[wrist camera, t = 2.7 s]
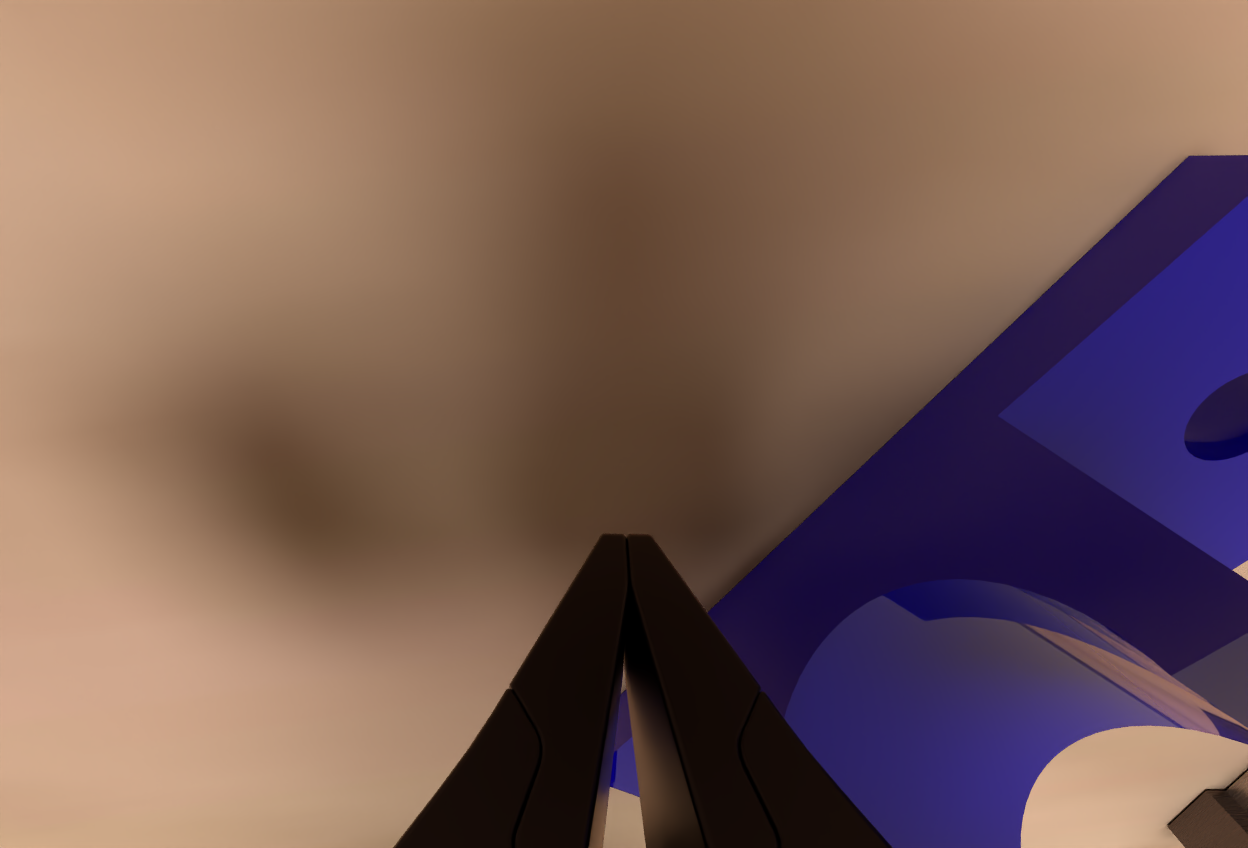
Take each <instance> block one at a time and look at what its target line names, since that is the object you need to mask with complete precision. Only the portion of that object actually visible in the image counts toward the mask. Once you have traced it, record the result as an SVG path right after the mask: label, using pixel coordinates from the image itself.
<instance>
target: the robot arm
mask: <svg viewBox="0 0 1248 848" xmlns="http://www.w3.org/2000/svg"><path fill="white" fill-rule="evenodd" d="M623 664H624V669H625V680H626V689H627V697H628V705H629V713H630V721H631V729H632V737H633V746H634V754H635V762H636V770H637V778H638V786H639V794H640V802H641V810H642V818H643V827H644V835H645V843H646V848H893V847H892V846H891V845H890V844H889V843H888V842H887V841H886V839H885V838H884V837H883V836H882V835H881V834H880V833H879V831H878V830H877V829H876V828H875V827H874V826H873V825H872V823H871V822H870V821H869V820H868V819H867V818H866V817H865V816H864V814H863V813H862V812H861V811H860V810H859V809H858V808H857V806H856V805H855V804H854V803H853V802H852V801H851V800H850V798H849V797H848V796H847V795H846V794H845V793H844V792H843V791H842V789H841V788H840V787H839V786H838V785H837V784H836V782H835V781H834V780H833V779H832V778H831V776H830V775H829V774H828V773H827V772H826V771H825V769H824V768H823V767H822V766H821V765H820V763H819V762H818V761H817V760H816V759H815V758H814V756H813V755H812V754H811V753H810V752H809V750H808V749H807V748H806V747H805V745H804V744H803V743H802V741H801V740H800V739H799V737H798V736H797V735H796V734H795V732H794V731H793V730H792V728H791V727H790V726H789V724H788V723H787V722H786V720H785V719H784V718H783V717H782V715H781V714H780V713H779V711H778V710H777V708H776V707H775V706H774V704H773V703H772V701H771V700H770V699H769V697H768V696H767V694H766V693H765V692H761V687H760V685H759V684H758V682H757V681H756V680H755V678H754V677H753V675H752V674H751V673H750V671H749V670H748V669H747V667H746V666H745V664H744V663H743V662H742V660H741V659H740V657H739V656H738V655H737V653H736V652H735V651H734V649H733V648H732V646H731V645H730V644H729V642H728V641H727V640H726V638H725V637H724V635H723V634H722V633H721V631H720V630H719V628H718V627H717V626H716V624H715V623H714V622H713V620H712V619H711V617H710V616H709V615H708V613H707V612H706V611H705V609H704V608H703V606H702V605H701V604H700V602H699V601H698V599H697V598H696V597H695V595H694V594H693V593H692V591H691V590H690V588H689V587H688V586H687V584H686V583H685V582H684V580H683V579H682V577H681V576H680V575H679V573H678V572H677V570H676V569H675V568H674V566H673V565H672V564H671V562H670V561H669V559H668V558H667V557H666V555H665V554H664V553H663V551H662V550H661V548H660V547H659V546H658V544H657V543H656V542H655V540H654V539H653V537H652V536H650V535H648V534H629V535H628V536H627V538H626V536H625V535H624V534H610V533H605V534H602V535H601V536H600V538H599V539H598V541H597V543H596V544H595V546H594V547H593V549H592V551H591V552H590V554H589V556H588V557H587V559H586V561H585V562H584V564H583V565H582V567H581V569H580V570H579V572H578V574H577V575H576V577H575V579H574V580H573V582H572V583H571V585H570V587H569V588H568V590H567V592H566V593H565V595H564V596H563V598H562V600H561V601H560V603H559V605H558V606H557V608H556V610H555V611H554V613H553V614H552V616H551V618H550V619H549V621H548V623H547V624H546V626H545V628H544V629H543V631H542V632H541V634H540V636H539V637H538V639H537V641H536V642H535V644H534V646H533V647H532V649H531V650H530V652H529V654H528V655H527V657H526V659H525V660H524V662H523V664H522V665H521V667H520V668H519V670H518V672H517V673H516V675H515V677H514V678H513V680H512V681H511V683H510V686H509V688H510V689H507V690H506V691H505V692H504V694H503V696H502V697H501V699H500V701H499V702H498V704H497V706H496V707H495V709H494V710H493V712H492V714H491V715H490V717H489V718H488V720H487V721H486V723H485V724H484V726H483V727H482V729H481V730H480V732H479V733H478V735H477V737H476V738H475V740H474V741H473V743H472V744H471V746H470V747H469V749H468V750H467V751H466V753H465V754H464V755H463V757H462V758H461V759H460V761H459V762H458V764H457V765H456V766H455V768H454V769H453V770H452V772H451V773H450V774H449V776H448V777H447V778H446V780H445V781H444V783H443V784H442V785H441V787H440V788H439V789H438V791H437V792H436V793H435V794H434V796H433V797H432V798H431V800H430V801H429V802H428V803H427V805H426V806H425V807H424V809H423V810H422V811H421V813H420V814H419V815H418V816H417V818H416V819H415V820H414V822H413V823H412V824H411V825H410V827H409V828H408V829H407V831H406V832H405V833H404V834H403V836H402V837H401V838H400V840H399V841H398V842H397V843H396V845H395V846H394V847H393V848H603V840H604V831H605V823H606V814H607V806H608V797H609V789H610V780H611V772H612V763H613V755H614V746H615V738H616V729H617V721H618V712H619V704H620V695H621V687H622V676H623Z"/></svg>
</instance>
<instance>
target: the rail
mask: <svg viewBox="0 0 1248 848" xmlns="http://www.w3.org/2000/svg"><path fill="white" fill-rule="evenodd" d="M1168 828H1169V829H1170V830H1171V831H1172V832H1173V834H1174V835H1175V836H1176V837H1177V838H1178V840H1179V841H1180V842H1181V843H1182V844H1183V846H1184V847H1185V848H1248V771H1247V772H1246V773H1245V774H1244V775H1243V776H1242V777H1240V778H1239V779H1238V780H1237V781H1236V782H1235V783H1234V784H1233V785H1232V786H1230V787H1229V788H1228V789H1227V790H1226V791H1209V790H1206V791H1205V792H1204V793H1203V794H1202V795H1201V796H1200V797H1199V798H1198V799H1197V800H1196V801H1195V802H1194V803H1192V804H1191V805H1190V806H1189V807H1188V808H1187V809H1186V810H1185V811H1184V812H1183V813H1182V814H1181V815H1179V816H1178V817H1177V818H1176V819H1175V820H1174V821H1173V822H1172V823H1171V824H1170V825H1169V826H1168Z"/></svg>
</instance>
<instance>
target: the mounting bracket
mask: <svg viewBox="0 0 1248 848" xmlns="http://www.w3.org/2000/svg"><path fill="white" fill-rule="evenodd" d="M1247 560H1248V155H1225V156H1188V157H1187V158H1186V159H1185V160H1184V161H1183V162H1182V163H1181V164H1180V165H1179V166H1178V167H1177V168H1176V169H1175V170H1174V171H1173V172H1172V173H1171V174H1169V175H1168V176H1167V177H1166V178H1165V179H1164V180H1163V181H1162V182H1161V183H1160V184H1159V185H1158V186H1157V187H1156V188H1155V189H1154V190H1153V191H1152V192H1150V193H1149V194H1148V195H1147V196H1146V197H1145V198H1144V199H1143V200H1142V201H1141V202H1140V203H1139V204H1138V205H1137V206H1136V207H1135V208H1134V209H1133V210H1131V211H1130V212H1129V213H1128V214H1127V215H1126V216H1125V217H1124V218H1123V219H1122V220H1121V221H1120V222H1119V223H1118V224H1117V225H1116V226H1115V227H1114V228H1113V229H1111V230H1110V231H1109V232H1108V233H1107V234H1106V235H1105V236H1104V237H1103V238H1102V239H1101V240H1100V241H1099V242H1098V243H1097V244H1096V245H1095V246H1094V247H1092V248H1091V249H1090V250H1089V251H1088V252H1087V253H1086V254H1085V255H1084V256H1083V257H1082V258H1081V259H1080V260H1079V261H1078V262H1077V263H1076V264H1075V265H1073V266H1072V267H1071V268H1070V269H1069V270H1068V271H1067V272H1066V273H1065V274H1064V275H1063V276H1062V277H1061V278H1060V279H1059V280H1058V281H1057V282H1056V283H1054V284H1053V285H1052V286H1051V287H1050V288H1049V289H1048V290H1047V291H1046V292H1045V293H1044V294H1043V295H1042V296H1041V297H1040V298H1039V299H1038V300H1037V301H1036V302H1034V303H1033V304H1032V305H1031V306H1030V307H1029V308H1028V309H1027V310H1026V311H1025V312H1024V313H1023V314H1022V315H1021V316H1020V317H1019V318H1018V319H1017V320H1015V321H1014V322H1013V323H1012V324H1011V325H1010V326H1009V327H1008V328H1007V329H1006V330H1005V331H1004V332H1003V333H1002V334H1001V335H1000V336H999V337H998V338H996V339H995V340H994V341H993V342H992V343H991V344H990V345H989V346H988V347H987V348H986V349H985V350H984V351H983V352H982V353H981V354H980V355H979V356H977V357H976V358H975V359H974V360H973V361H972V362H971V363H970V364H969V365H968V366H967V367H966V368H965V369H964V370H963V371H962V372H961V373H960V374H958V375H957V376H956V377H955V378H954V379H953V380H952V381H951V382H950V383H949V384H948V385H947V386H946V387H945V388H944V389H943V390H942V391H941V392H940V393H938V394H937V395H936V396H935V397H934V398H933V399H932V400H931V401H930V402H929V403H928V404H927V405H926V406H925V407H924V408H923V409H922V410H921V411H919V412H918V413H917V414H916V415H915V416H914V417H913V418H912V419H911V420H910V421H909V422H908V423H907V424H906V425H905V426H904V427H903V428H902V429H900V430H899V431H898V432H897V433H896V434H895V435H894V436H893V437H892V438H891V439H890V440H889V441H888V442H887V443H886V444H885V445H884V446H883V447H881V448H880V449H879V450H878V451H877V452H876V453H875V454H874V455H873V456H872V457H871V458H870V459H869V460H868V461H867V462H866V463H865V464H864V465H863V466H861V467H860V468H859V469H858V470H857V471H856V472H855V473H854V474H853V475H852V476H851V477H850V478H849V479H848V480H847V481H846V482H845V483H844V484H842V485H841V486H840V487H839V488H838V489H837V490H836V491H835V492H834V493H833V494H832V495H831V496H830V497H829V498H828V499H827V500H826V501H825V502H823V503H822V504H821V505H820V506H819V507H818V508H817V509H816V510H815V511H814V512H813V513H812V514H811V515H810V516H809V517H808V518H807V519H806V520H804V521H803V522H802V523H801V524H800V525H799V526H798V527H797V528H796V529H795V530H794V531H793V532H792V533H791V534H790V535H789V536H788V537H787V538H785V539H784V540H783V541H782V542H781V543H780V544H779V545H778V546H777V547H776V548H775V549H774V550H773V551H772V552H771V553H770V554H769V555H768V556H767V557H765V558H764V559H763V560H762V561H761V562H760V563H759V564H758V565H757V566H756V567H755V568H754V569H753V570H752V571H751V572H750V573H749V574H748V575H746V576H745V577H744V578H743V579H742V580H741V581H740V582H739V583H738V584H737V585H736V586H735V587H734V588H733V589H732V590H731V591H730V592H729V593H727V594H726V595H725V596H724V597H723V598H722V599H721V600H720V601H719V602H718V603H717V604H716V605H715V606H714V607H713V608H712V609H711V610H710V611H708V612H707V613H708V615H709V616H710V617H711V619H712V620H713V622H714V623H715V624H716V626H717V627H718V628H719V630H720V631H721V633H722V634H723V635H724V637H725V638H726V640H727V641H728V642H729V644H730V645H731V646H732V648H733V649H734V651H735V652H736V653H737V655H738V656H739V657H740V659H741V660H742V662H743V663H744V664H745V666H746V667H747V669H748V670H749V671H750V673H751V674H752V675H753V677H754V678H755V680H756V681H757V682H758V684H759V685H760V687H761V692H765V693H766V694H767V696H768V697H769V699H770V700H771V701H772V703H773V704H774V706H775V707H776V708H777V710H778V711H779V713H780V714H781V715H782V717H783V718H784V719H785V720H786V722H787V723H788V724H789V726H790V727H791V728H792V730H793V731H794V732H795V734H796V735H797V736H798V737H799V739H800V740H801V741H802V743H803V744H804V745H805V747H806V748H807V749H808V750H809V752H810V753H811V754H812V755H813V756H814V758H815V759H816V760H817V761H818V762H819V763H820V765H821V766H822V767H823V768H824V769H825V771H826V772H827V773H828V774H829V775H830V776H831V778H832V779H833V780H834V781H835V782H836V784H837V785H838V786H839V787H840V788H841V789H842V791H843V792H844V793H845V794H846V795H847V796H848V797H849V798H850V800H851V801H852V802H853V803H854V804H855V805H856V806H857V808H858V809H859V810H860V811H861V812H862V813H863V814H864V816H865V817H866V818H867V819H868V820H869V821H870V822H871V823H872V825H873V826H874V827H875V828H876V829H877V830H878V831H879V833H880V834H881V835H882V836H883V837H884V838H885V839H886V841H887V842H888V843H889V844H890V845H891V846H892V847H893V848H1021V828H1022V819H1023V814H1024V810H1025V806H1026V802H1027V799H1028V797H1029V794H1030V791H1031V789H1032V787H1033V785H1034V783H1035V781H1036V779H1037V778H1038V776H1039V775H1040V773H1041V772H1042V770H1043V769H1044V768H1045V766H1046V765H1047V764H1048V763H1049V762H1050V761H1051V760H1052V759H1053V758H1054V757H1055V756H1056V755H1057V754H1058V753H1060V752H1061V751H1062V750H1064V749H1065V748H1066V747H1068V746H1069V745H1071V744H1073V743H1075V742H1076V741H1078V740H1080V739H1082V738H1084V737H1087V736H1090V735H1092V734H1095V733H1098V732H1102V731H1106V730H1110V729H1114V728H1121V727H1128V726H1150V725H1151V726H1168V727H1177V728H1184V729H1191V730H1197V731H1201V732H1205V733H1210V734H1214V735H1219V736H1222V737H1225V738H1229V739H1232V740H1235V741H1239V742H1242V743H1245V744H1248V580H1246V579H1245V578H1243V577H1242V576H1240V575H1239V574H1237V573H1236V572H1234V571H1232V570H1233V569H1234V568H1236V567H1237V566H1239V565H1241V564H1242V563H1244V562H1246V561H1247ZM610 787H613V788H616V789H618V790H621V791H624V792H627V793H630V794H633V795H635V796H638V797H640V794H639V786H638V778H637V770H636V762H635V754H634V746H633V737H632V729H631V721H630V713H629V705H628V697H627V689H626V690H625V691H624V692H623V693H622V694H621V695H620V704H619V712H618V721H617V729H616V738H615V746H614V755H613V763H612V772H611V780H610Z"/></svg>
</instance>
